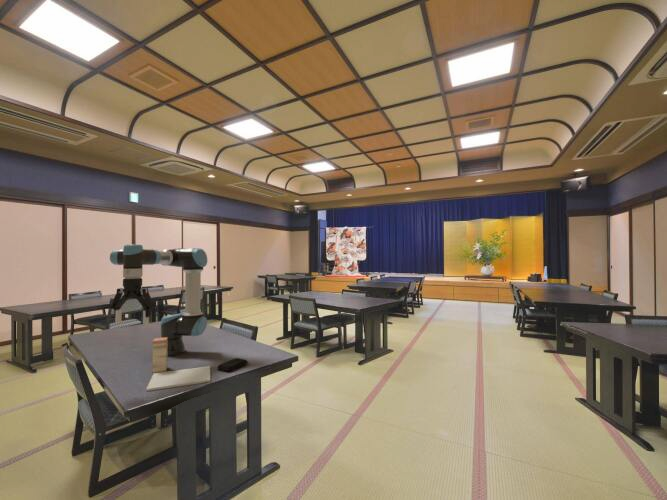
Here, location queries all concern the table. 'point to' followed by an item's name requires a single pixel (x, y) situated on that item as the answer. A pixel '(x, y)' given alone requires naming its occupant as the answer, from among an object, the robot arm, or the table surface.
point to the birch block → (160, 354)
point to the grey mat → (179, 378)
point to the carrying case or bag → (232, 364)
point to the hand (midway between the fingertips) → (132, 324)
